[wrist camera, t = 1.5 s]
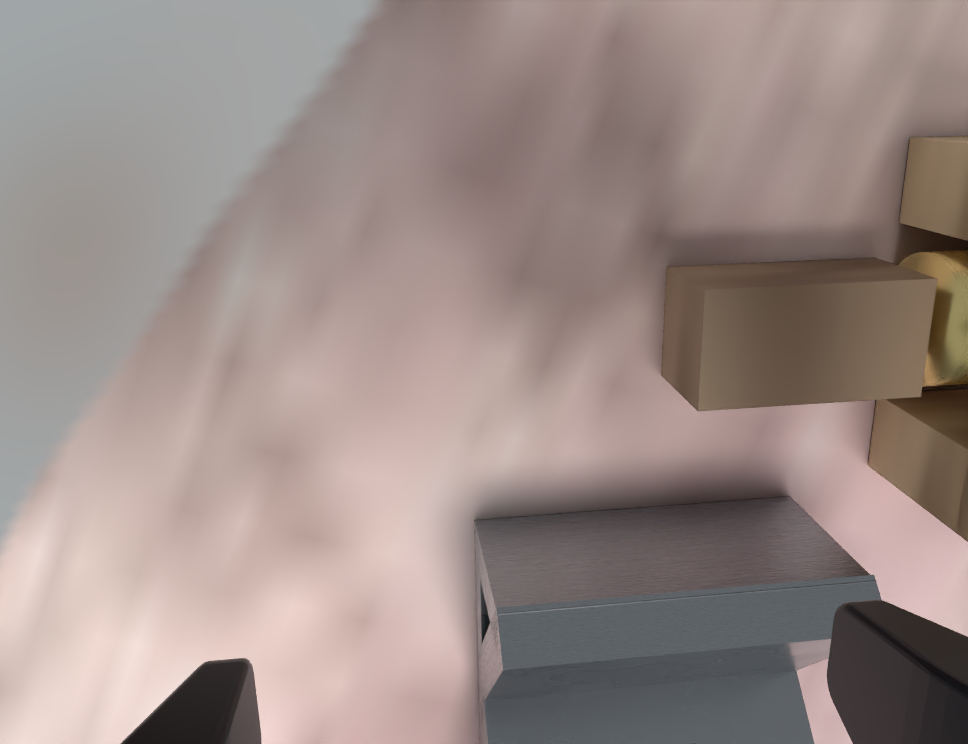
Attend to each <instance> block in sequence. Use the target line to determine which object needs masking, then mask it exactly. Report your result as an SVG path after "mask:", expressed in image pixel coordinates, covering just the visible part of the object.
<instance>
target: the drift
mask: <svg viewBox="0 0 968 744" xmlns="http://www.w3.org/2000/svg"><path fill="white" fill-rule="evenodd" d="M937 280H938V279H937V278H934V277H931V276H928V275H925V274H922V273H919V272H916V271H913V270H910V269H907V268H904V267H901V266H898V265H895V264H892V263H889V262H886V261H883V260H880V259H877V258H854V259H831V260H808V261H785V262H763V263H740V264H717V265H694V266H672V267H666V288H665V309H664V330H663V351H662V373H661V376H662V377H663V378H664V379H665V380H667V381H668V382H669V383H670V384H671V385H672V386H673V387H674V388H675V389H676V390H677V391H678V392H679V393H680V394H681V395H682V396H683V397H684V398H685V399H686V400H687V401H688V402H689V403H690V404H691V405H692V406H693V407H694V408H695V409H696V410H697V411H708V410H723V409H739V408H755V407H770V406H786V405H802V404H817V403H833V402H849V401H864V400H880V399H895V398H911V397H921V392H922V385H923V378H924V371H925V364H926V357H927V350H928V343H929V336H930V329H931V322H932V315H933V308H934V301H935V294H936V287H937Z"/></svg>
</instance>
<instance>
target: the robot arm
mask: <svg viewBox="0 0 968 744" xmlns="http://www.w3.org/2000/svg"><path fill="white" fill-rule="evenodd" d="M827 682H828V688H829V692H830V695H831V698H832V700H833V703H834V705H835V707H836V709H837V711H838V713H839V715H840V717H841V719H842V722H843V724H844V726H845V728H846V730H847V732H848V734H849V736H850V738H851V740H852V742H853V744H968V637H967V636H964V635H962V634H960V633H957V632H955V631H953V630H950V629H948V628H946V627H943V626H941V625H939V624H936V623H934V622H932V621H929V620H927V619H925V618H922V617H920V616H918V615H915V614H913V613H911V612H908V611H906V610H904V609H901V608H899V607H897V606H894V605H892V604H890V603H887V602H885V601H882V600H868V601H858V602H847V603H843V604H842V605H840V606H839V607H838V608H837V610H836V612H835V615H834V620H833V628H832V636H831V644H830V653H829V661H828V669H827ZM121 744H261V730H260V722H259V713H258V705H257V697H256V688H255V680H254V672H253V667H252V665H251V663H250V661H249V660H247V659H246V658H239V659H228V660H217V661H208V662H205V663H203V664H202V665H201V666H199V667H198V668H197V669H196V670H195V671H194V672H193V673H192V674H191V675H190V676H189V677H188V678H187V679H186V680H185V681H184V682H183V683H182V684H181V685H180V686H179V687H178V688H177V689H176V690H175V691H174V692H173V693H172V694H171V695H170V696H169V697H168V698H167V699H166V700H165V701H164V702H163V703H162V704H161V705H159V706H158V707H157V708H156V709H155V710H154V711H153V712H152V713H151V714H150V715H149V716H148V717H147V718H146V719H145V720H144V721H143V722H142V723H141V724H140V725H139V726H138V727H137V728H136V729H135V730H134V731H133V732H132V733H131V734H130V735H129V736H128V737H127V738H126V739H125V740H124V741H123V742H122V743H121Z"/></svg>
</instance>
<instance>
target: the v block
mask: <svg viewBox="0 0 968 744" xmlns="http://www.w3.org/2000/svg"><path fill="white" fill-rule="evenodd" d="M474 524H475V564H476V605H477V646H478V686H479V727H480V744H814V741H813V737H812V733H811V728H810V724H809V720H808V716H807V712H806V708H805V704H804V700H803V696H802V692H801V688H800V684H799V680H798V676H797V672H796V670H799V669H801V668H804V667H806V666H809V665H811V664H814V663H817V662H819V661H822V660H824V659H827V658H829V653H830V644H831V636H832V628H833V620H834V615H835V612H836V610H837V608H838V607H839V606H840V605H842V604H843V603H847V602H858V601H868V600H881V597H880V593H879V590H878V587H877V583H876V580H875V577H874V575H870V574H869V573H868V572H867V571H866V570H865V569H864V568H863V567H861V566H860V565H859V564H858V563H857V562H856V561H855V560H854V559H853V558H852V557H851V556H850V555H849V554H848V553H847V552H846V551H845V550H844V549H843V548H842V547H841V546H840V545H839V544H838V543H837V542H836V541H835V540H834V539H833V538H832V537H831V536H830V535H829V534H828V533H827V532H826V531H825V530H824V529H823V528H822V527H821V526H820V525H819V524H818V523H817V522H815V521H814V520H813V519H812V518H811V517H810V516H809V515H808V514H807V513H806V512H805V511H804V510H803V509H802V508H801V507H800V506H799V505H798V504H797V503H796V502H795V501H794V500H793V499H792V498H791V497H790V496H789V497H775V498H762V499H749V500H736V501H723V502H709V503H696V504H683V505H670V506H657V507H643V508H630V509H617V510H604V511H590V512H577V513H564V514H551V515H538V516H524V517H511V518H498V519H485V520H474Z"/></svg>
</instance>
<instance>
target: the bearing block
mask: <svg viewBox="0 0 968 744" xmlns="http://www.w3.org/2000/svg"><path fill="white" fill-rule="evenodd" d="M899 223H902V224H906V225H910V226H913V227H917V228H921V229H925V230H929V231H932V232H936V233H940V234H944V235H948V236H952V237H955V238H959V239H963V240H967V241H968V136H949V137H913V138H910V143H909V151H908V158H907V166H906V174H905V182H904V190H903V197H902V205H901V213H900V221H899ZM868 466H869V467H871V468H872V469H873V470H875V471H876V472H877V473H878V474H880V475H881V476H882V477H884V478H885V479H886V480H888V481H889V482H890V483H892V484H893V485H894V486H895V487H897V488H898V489H899V490H901V491H902V492H903V493H905V494H906V495H907V496H909V497H910V498H911V499H913V500H914V501H915V502H916V503H918V504H919V505H920V506H922V507H923V508H924V509H926V510H927V511H928V512H930V513H931V514H932V515H933V516H935V517H936V518H937V519H939V520H940V521H941V522H943V523H944V524H945V525H947V526H948V527H949V528H950V529H952V530H953V531H954V532H956V533H957V534H958V535H960V536H961V537H962V538H964V539H965V540H966V541H968V389H957V390H941V391H925V392H921V397H911V398H895V399H880V400H876V407H875V415H874V423H873V431H872V439H871V446H870V454H869V462H868Z"/></svg>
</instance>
